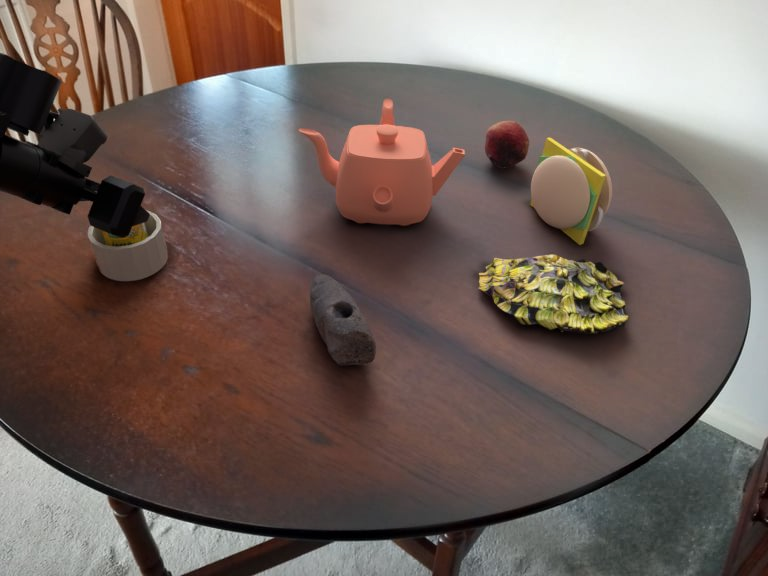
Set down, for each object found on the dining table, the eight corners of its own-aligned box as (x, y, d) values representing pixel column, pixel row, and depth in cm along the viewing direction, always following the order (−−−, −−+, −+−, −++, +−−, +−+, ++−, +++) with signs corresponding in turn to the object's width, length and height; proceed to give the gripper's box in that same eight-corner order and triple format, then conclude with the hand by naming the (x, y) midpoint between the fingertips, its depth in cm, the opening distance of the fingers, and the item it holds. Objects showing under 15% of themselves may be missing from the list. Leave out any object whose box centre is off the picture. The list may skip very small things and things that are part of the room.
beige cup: (95, 285, 82) (84, 252, 78) (101, 243, 89) (91, 211, 85) (167, 276, 84) (160, 244, 80) (168, 236, 90) (161, 205, 87)
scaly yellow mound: (465, 324, 81) (467, 278, 78) (486, 277, 95) (488, 237, 92) (628, 345, 75) (636, 296, 72) (624, 292, 89) (631, 249, 87)
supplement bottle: (149, 242, 88) (134, 184, 82) (155, 264, 85) (140, 205, 78) (109, 250, 87) (90, 191, 80) (113, 273, 83) (94, 214, 77)
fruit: (523, 156, 114) (532, 116, 108) (526, 178, 108) (535, 136, 103) (480, 152, 114) (487, 112, 109) (481, 174, 108) (489, 132, 103)
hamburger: (609, 235, 96) (633, 167, 88) (568, 248, 93) (589, 179, 85) (558, 196, 104) (576, 130, 96) (519, 207, 101) (534, 141, 93)
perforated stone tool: (299, 301, 81) (297, 260, 77) (337, 293, 83) (337, 252, 78) (336, 385, 71) (335, 343, 67) (378, 373, 73) (381, 332, 68)
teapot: (301, 203, 99) (297, 123, 90) (384, 166, 109) (388, 90, 100) (379, 258, 89) (384, 174, 80) (462, 211, 99) (475, 132, 90)
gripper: (112, 121, 63) (200, 169, 78) (-12, 78, 69) (92, 131, 84) (71, 222, 63) (167, 251, 78) (-49, 171, 69) (61, 207, 84)
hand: (121, 206), depth 81 cm, fingers open, 9 cm apart
